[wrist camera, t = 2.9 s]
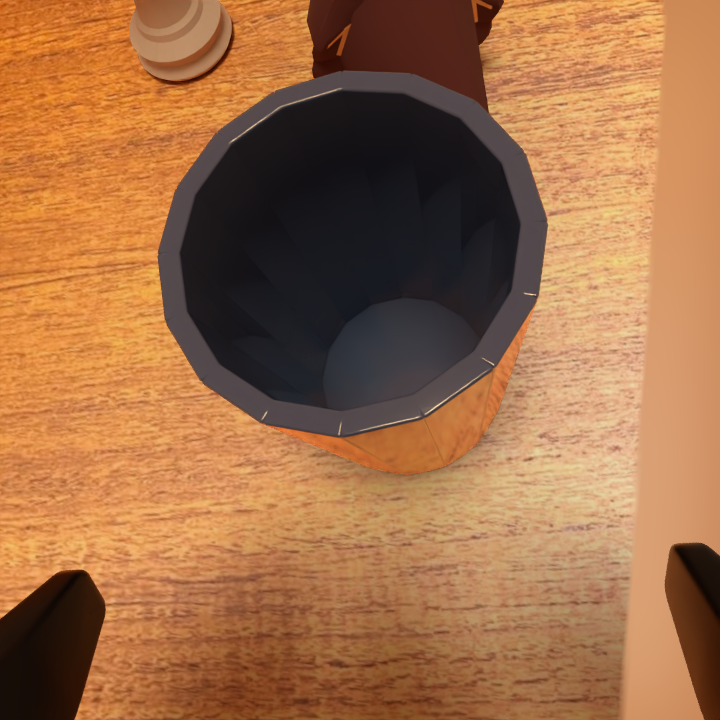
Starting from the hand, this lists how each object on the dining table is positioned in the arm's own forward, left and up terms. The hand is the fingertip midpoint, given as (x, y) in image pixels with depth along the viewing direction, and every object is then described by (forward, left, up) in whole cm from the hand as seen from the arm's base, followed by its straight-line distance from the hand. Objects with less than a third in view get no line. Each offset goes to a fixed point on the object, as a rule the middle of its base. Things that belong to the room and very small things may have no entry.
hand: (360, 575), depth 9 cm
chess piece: (+20, +14, -12) cm, 27 cm away
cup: (+5, +1, -12) cm, 13 cm away
